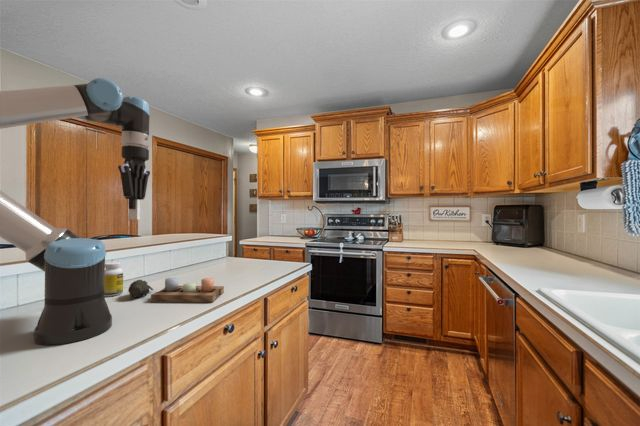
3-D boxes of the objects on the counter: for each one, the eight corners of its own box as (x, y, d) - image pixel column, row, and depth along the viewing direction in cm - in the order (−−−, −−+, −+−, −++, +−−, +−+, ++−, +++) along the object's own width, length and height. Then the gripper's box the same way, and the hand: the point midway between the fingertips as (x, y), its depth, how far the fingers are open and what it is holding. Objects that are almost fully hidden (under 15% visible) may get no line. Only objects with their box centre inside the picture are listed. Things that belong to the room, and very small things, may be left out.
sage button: (192, 297, 101) (193, 286, 101) (180, 297, 101) (181, 285, 101) (197, 293, 105) (197, 283, 105) (186, 293, 105) (186, 282, 105)
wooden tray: (223, 292, 109) (223, 286, 109) (212, 302, 97) (212, 295, 97) (168, 292, 109) (168, 285, 109) (150, 302, 97) (150, 294, 97)
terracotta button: (211, 292, 101) (211, 281, 101) (199, 292, 101) (199, 280, 101) (215, 288, 105) (215, 278, 105) (203, 288, 105) (204, 278, 105)
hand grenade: (152, 291, 100) (157, 285, 111) (136, 278, 98) (142, 273, 110) (138, 305, 98) (144, 298, 109) (121, 292, 97) (129, 286, 108)
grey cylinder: (174, 291, 101) (174, 280, 101) (162, 291, 101) (162, 280, 101) (180, 288, 105) (180, 277, 105) (168, 288, 105) (168, 277, 105)
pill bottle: (114, 297, 101) (114, 265, 101) (96, 297, 101) (97, 264, 101) (127, 292, 107) (127, 261, 107) (110, 291, 108) (110, 261, 107)
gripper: (134, 142, 86) (133, 220, 86) (158, 151, 99) (156, 219, 99) (109, 142, 86) (108, 219, 86) (136, 151, 99) (135, 218, 99)
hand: (134, 219), depth 92 cm, fingers closed
